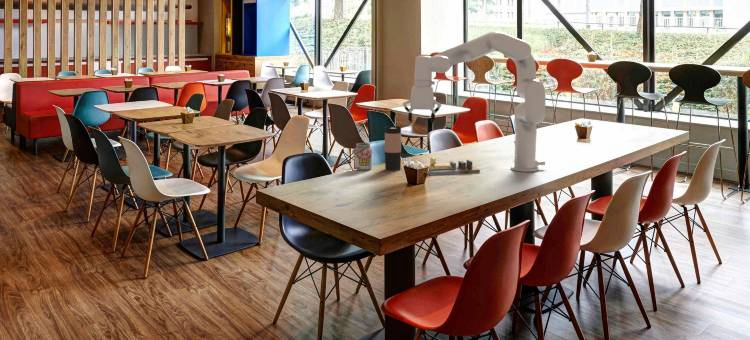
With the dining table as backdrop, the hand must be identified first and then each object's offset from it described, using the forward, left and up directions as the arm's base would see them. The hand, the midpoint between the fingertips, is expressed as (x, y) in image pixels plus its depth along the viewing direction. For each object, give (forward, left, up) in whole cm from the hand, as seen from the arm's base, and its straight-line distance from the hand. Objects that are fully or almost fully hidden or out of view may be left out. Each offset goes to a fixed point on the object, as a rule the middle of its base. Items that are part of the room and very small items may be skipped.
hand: (421, 122), depth 306 cm
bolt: (-9, -1, -22) cm, 24 cm away
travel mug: (+10, -12, -24) cm, 29 cm away
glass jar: (+24, -16, -24) cm, 38 cm away
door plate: (-10, -1, -24) cm, 26 cm away
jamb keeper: (-22, -1, -24) cm, 32 cm away
